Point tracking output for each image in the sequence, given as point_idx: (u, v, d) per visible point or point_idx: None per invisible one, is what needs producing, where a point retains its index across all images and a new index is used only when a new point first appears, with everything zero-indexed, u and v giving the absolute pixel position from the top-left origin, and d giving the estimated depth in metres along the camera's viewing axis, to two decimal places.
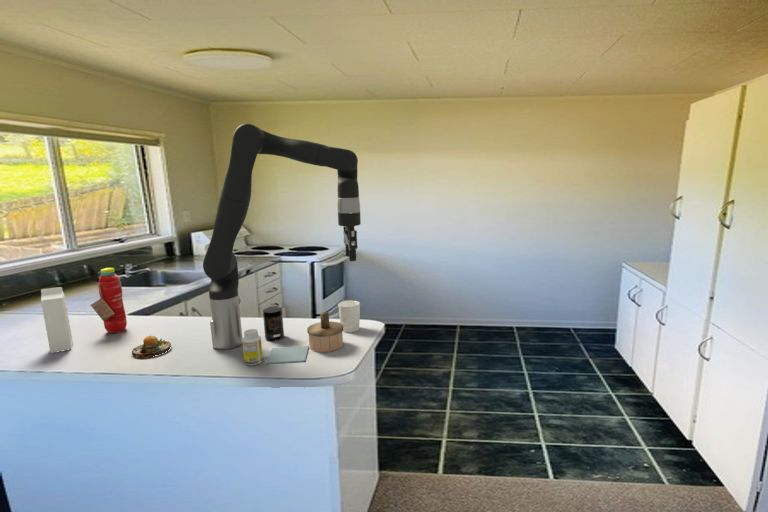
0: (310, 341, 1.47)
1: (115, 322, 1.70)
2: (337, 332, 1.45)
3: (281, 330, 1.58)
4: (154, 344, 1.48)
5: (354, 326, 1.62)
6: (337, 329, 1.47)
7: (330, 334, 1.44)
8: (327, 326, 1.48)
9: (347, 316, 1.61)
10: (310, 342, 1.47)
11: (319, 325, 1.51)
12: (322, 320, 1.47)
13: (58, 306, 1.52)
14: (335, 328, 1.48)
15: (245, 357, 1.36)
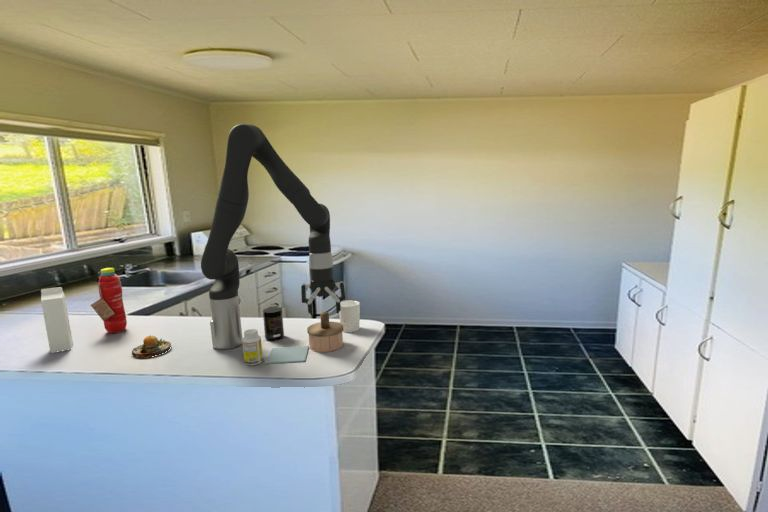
0: (310, 341, 1.47)
1: (115, 322, 1.70)
2: (337, 332, 1.45)
3: (281, 330, 1.58)
4: (154, 344, 1.48)
5: (354, 326, 1.62)
6: (337, 329, 1.47)
7: (330, 334, 1.44)
8: (327, 326, 1.48)
9: (347, 316, 1.61)
10: (310, 342, 1.47)
11: (319, 325, 1.51)
12: (322, 320, 1.47)
13: (58, 306, 1.52)
14: (335, 328, 1.48)
15: (245, 357, 1.36)
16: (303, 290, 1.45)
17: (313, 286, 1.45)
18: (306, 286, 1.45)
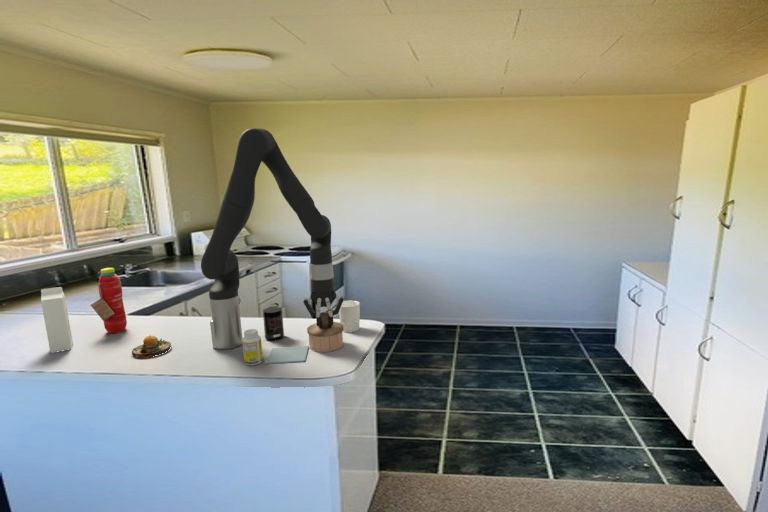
0: (310, 341, 1.47)
1: (115, 322, 1.70)
2: (337, 332, 1.45)
3: (281, 330, 1.58)
4: (154, 344, 1.48)
5: (354, 326, 1.62)
6: (337, 329, 1.47)
7: (330, 334, 1.44)
8: (327, 326, 1.48)
9: (347, 316, 1.61)
10: (310, 342, 1.47)
11: None
12: (322, 320, 1.47)
13: (58, 306, 1.52)
14: (335, 328, 1.48)
15: (245, 357, 1.36)
16: (307, 304, 1.46)
17: (314, 296, 1.46)
18: (308, 300, 1.46)
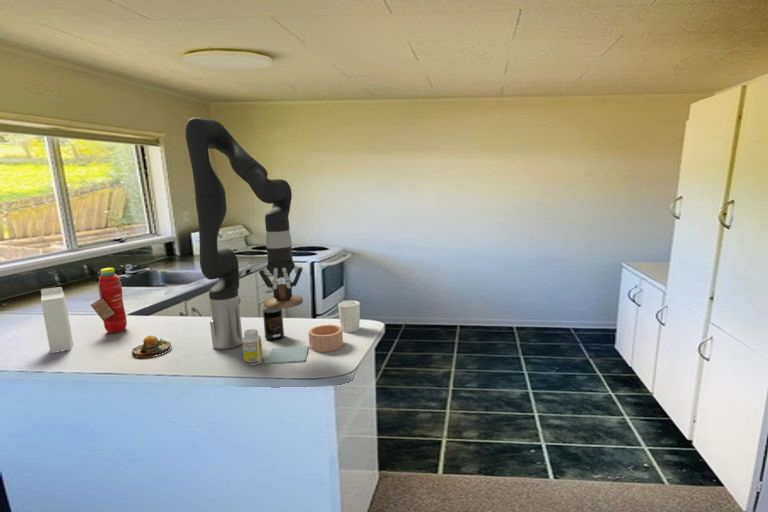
0: (310, 341, 1.47)
1: (115, 322, 1.70)
2: (295, 304, 1.36)
3: (281, 330, 1.58)
4: (154, 344, 1.48)
5: (354, 326, 1.62)
6: (295, 301, 1.38)
7: (287, 306, 1.35)
8: (285, 298, 1.39)
9: (347, 316, 1.61)
10: (310, 342, 1.47)
11: None
12: (279, 292, 1.38)
13: (58, 306, 1.52)
14: (294, 300, 1.39)
15: (245, 357, 1.36)
16: (263, 275, 1.37)
17: (270, 267, 1.37)
18: (264, 270, 1.38)
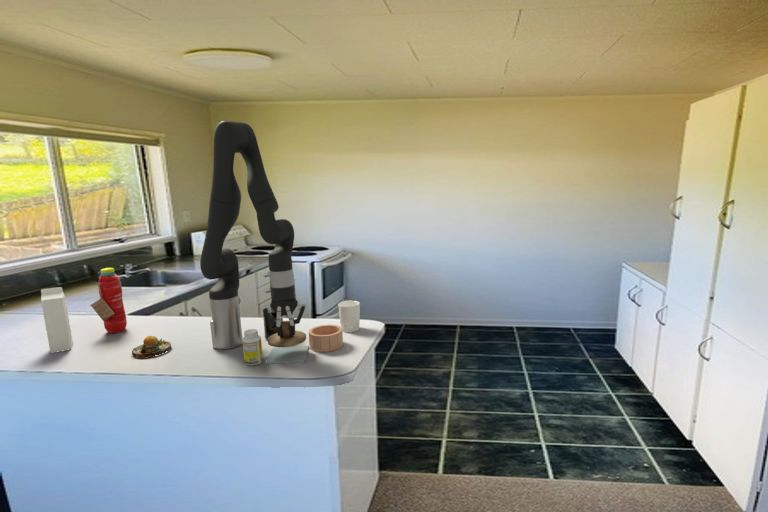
0: (310, 341, 1.47)
1: (115, 322, 1.70)
2: (298, 342, 1.38)
3: None
4: (154, 344, 1.48)
5: (354, 326, 1.62)
6: (298, 339, 1.40)
7: (290, 344, 1.37)
8: (288, 336, 1.41)
9: (347, 316, 1.61)
10: (310, 342, 1.47)
11: None
12: (283, 330, 1.40)
13: (58, 306, 1.52)
14: (297, 337, 1.41)
15: (245, 357, 1.36)
16: (266, 313, 1.39)
17: (273, 305, 1.39)
18: (267, 308, 1.40)
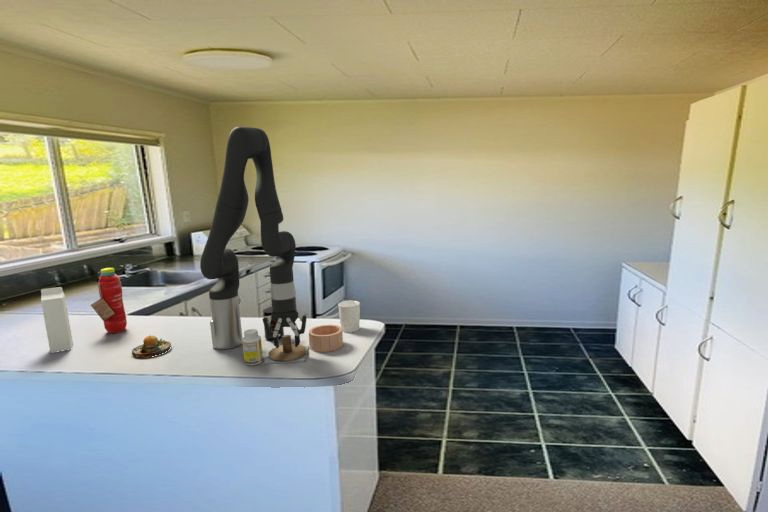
0: (310, 341, 1.47)
1: (115, 322, 1.70)
2: (299, 357, 1.39)
3: (281, 330, 1.58)
4: (154, 344, 1.48)
5: (354, 326, 1.62)
6: (299, 353, 1.41)
7: (291, 359, 1.38)
8: (289, 350, 1.42)
9: (347, 316, 1.61)
10: (310, 342, 1.47)
11: (281, 348, 1.45)
12: (284, 344, 1.41)
13: (58, 306, 1.52)
14: (298, 352, 1.42)
15: (245, 357, 1.36)
16: (265, 323, 1.40)
17: (274, 316, 1.40)
18: (268, 318, 1.40)
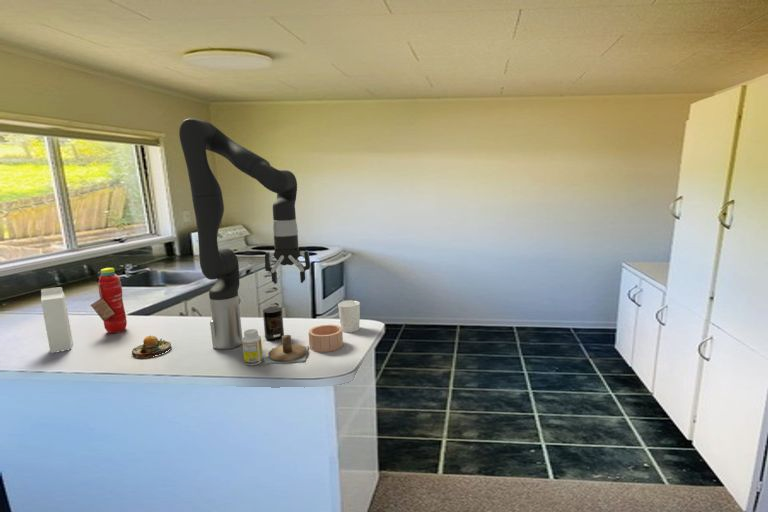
0: (310, 341, 1.47)
1: (115, 322, 1.70)
2: (299, 357, 1.39)
3: (281, 330, 1.58)
4: (154, 344, 1.48)
5: (354, 326, 1.62)
6: (299, 353, 1.41)
7: (291, 359, 1.38)
8: (289, 350, 1.42)
9: (347, 316, 1.61)
10: (310, 342, 1.47)
11: (281, 348, 1.45)
12: (284, 344, 1.41)
13: (58, 306, 1.52)
14: (298, 352, 1.42)
15: (245, 357, 1.36)
16: (267, 258, 1.43)
17: (277, 254, 1.43)
18: (270, 254, 1.43)
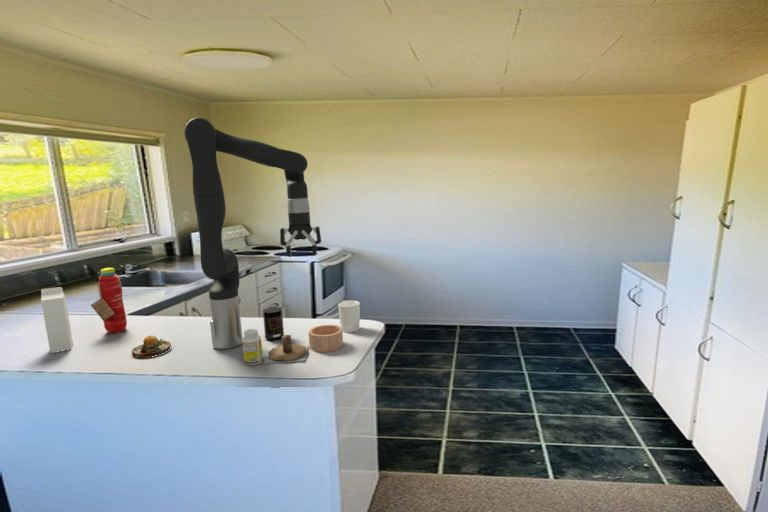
0: (310, 341, 1.47)
1: (115, 322, 1.70)
2: (299, 357, 1.39)
3: (281, 330, 1.58)
4: (154, 344, 1.48)
5: (354, 326, 1.62)
6: (299, 353, 1.41)
7: (291, 359, 1.38)
8: (289, 350, 1.42)
9: (347, 316, 1.61)
10: (310, 342, 1.47)
11: (281, 348, 1.45)
12: (284, 344, 1.41)
13: (58, 306, 1.52)
14: (298, 352, 1.42)
15: (245, 357, 1.36)
16: (282, 233, 1.58)
17: (291, 230, 1.58)
18: (285, 230, 1.59)
